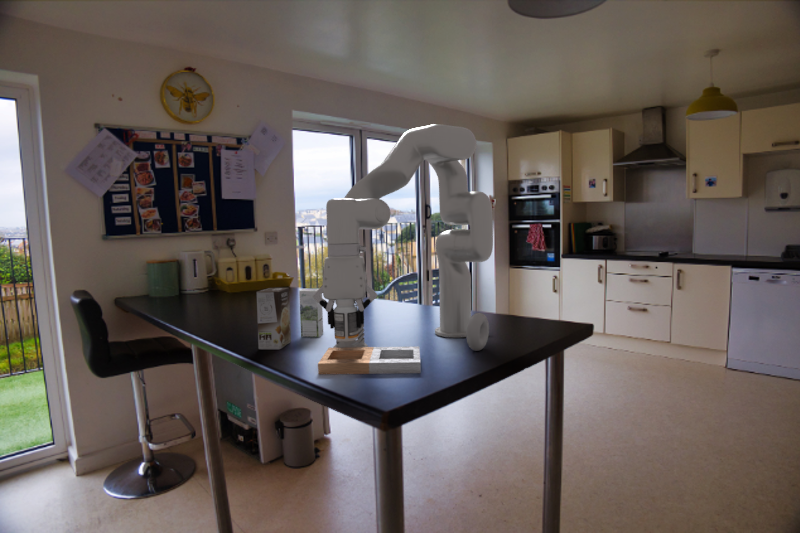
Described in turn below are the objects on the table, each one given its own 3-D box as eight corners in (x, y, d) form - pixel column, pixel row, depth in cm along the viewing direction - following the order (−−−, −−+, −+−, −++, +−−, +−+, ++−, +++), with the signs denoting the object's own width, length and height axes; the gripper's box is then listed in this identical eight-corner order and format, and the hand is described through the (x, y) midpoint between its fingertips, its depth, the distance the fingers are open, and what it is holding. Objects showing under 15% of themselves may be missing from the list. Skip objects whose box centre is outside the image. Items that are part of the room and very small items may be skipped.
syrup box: (323, 333, 148) (322, 287, 147) (318, 337, 142) (317, 290, 141) (306, 333, 148) (304, 287, 147) (300, 337, 143) (298, 290, 141)
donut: (476, 355, 119) (476, 316, 118) (464, 354, 121) (463, 315, 120) (491, 346, 127) (491, 310, 127) (479, 345, 129) (479, 309, 128)
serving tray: (419, 356, 119) (419, 346, 119) (420, 373, 106) (420, 362, 105) (329, 357, 120) (328, 347, 120) (318, 374, 106) (318, 363, 106)
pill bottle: (356, 335, 116) (355, 295, 115) (360, 340, 111) (359, 299, 110) (333, 337, 114) (331, 296, 114) (336, 342, 109) (335, 300, 108)
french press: (326, 350, 127) (323, 257, 125) (345, 340, 138) (343, 255, 136) (359, 353, 124) (356, 258, 122) (376, 342, 135) (374, 255, 133)
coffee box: (280, 349, 129) (278, 291, 127) (258, 349, 129) (255, 291, 128) (291, 341, 138) (289, 287, 136) (270, 341, 138) (268, 287, 137)
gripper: (381, 249, 114) (383, 323, 116) (310, 251, 115) (313, 324, 116) (379, 251, 107) (381, 330, 108) (303, 253, 107) (306, 331, 109)
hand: (346, 326), depth 112 cm, fingers closed on pill bottle, 5 cm apart
